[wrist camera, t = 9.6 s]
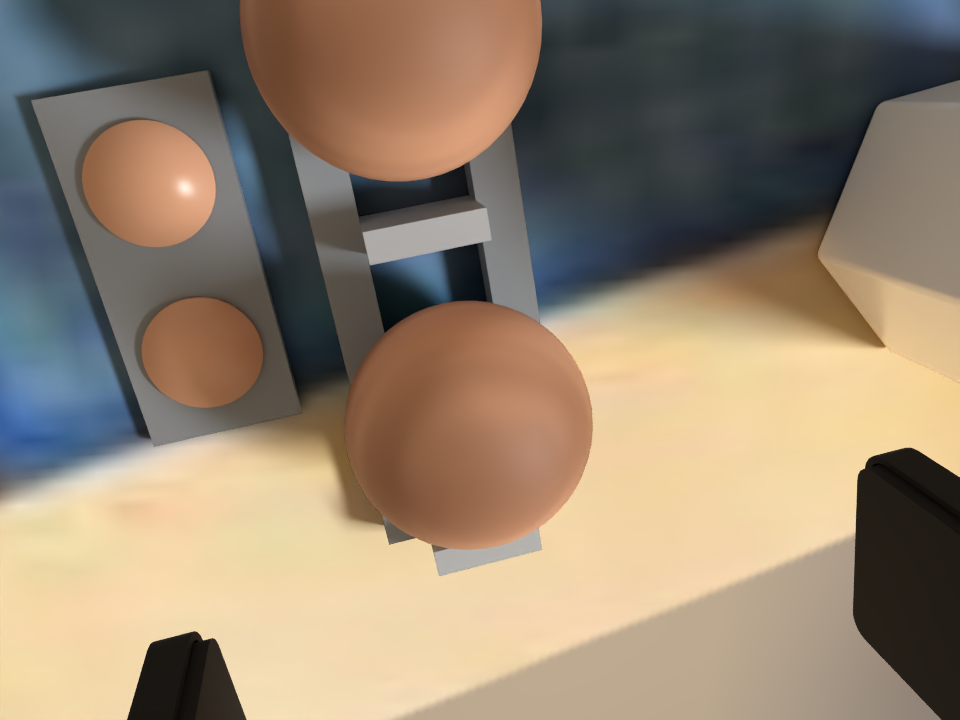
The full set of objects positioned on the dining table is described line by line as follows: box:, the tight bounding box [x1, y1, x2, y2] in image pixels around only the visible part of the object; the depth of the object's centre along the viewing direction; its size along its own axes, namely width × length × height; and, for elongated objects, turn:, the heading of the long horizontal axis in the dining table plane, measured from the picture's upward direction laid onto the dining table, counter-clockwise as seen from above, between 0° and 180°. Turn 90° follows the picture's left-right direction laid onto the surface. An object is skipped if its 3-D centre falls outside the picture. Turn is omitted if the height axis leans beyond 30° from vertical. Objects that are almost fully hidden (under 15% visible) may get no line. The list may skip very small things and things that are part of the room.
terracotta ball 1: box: [240, 0, 542, 181], centre depth 16 cm, size 6×6×6 cm
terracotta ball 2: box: [344, 301, 593, 550], centre depth 19 cm, size 6×6×6 cm
